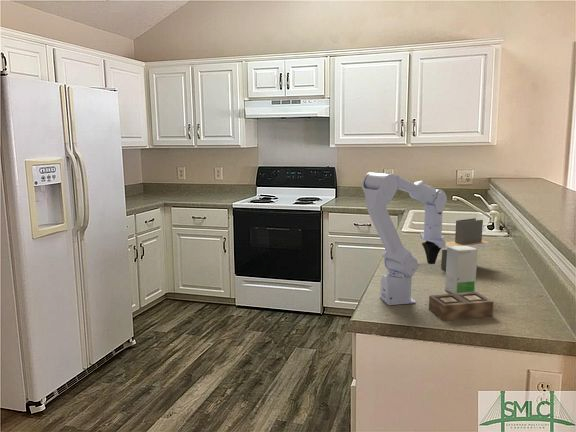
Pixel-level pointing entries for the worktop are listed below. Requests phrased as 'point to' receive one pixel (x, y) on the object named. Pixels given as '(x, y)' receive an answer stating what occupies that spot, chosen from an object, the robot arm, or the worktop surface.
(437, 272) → the worktop surface
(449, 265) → the skincare box
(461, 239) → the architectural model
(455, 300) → the peg
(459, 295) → the walnut block
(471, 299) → the peg
